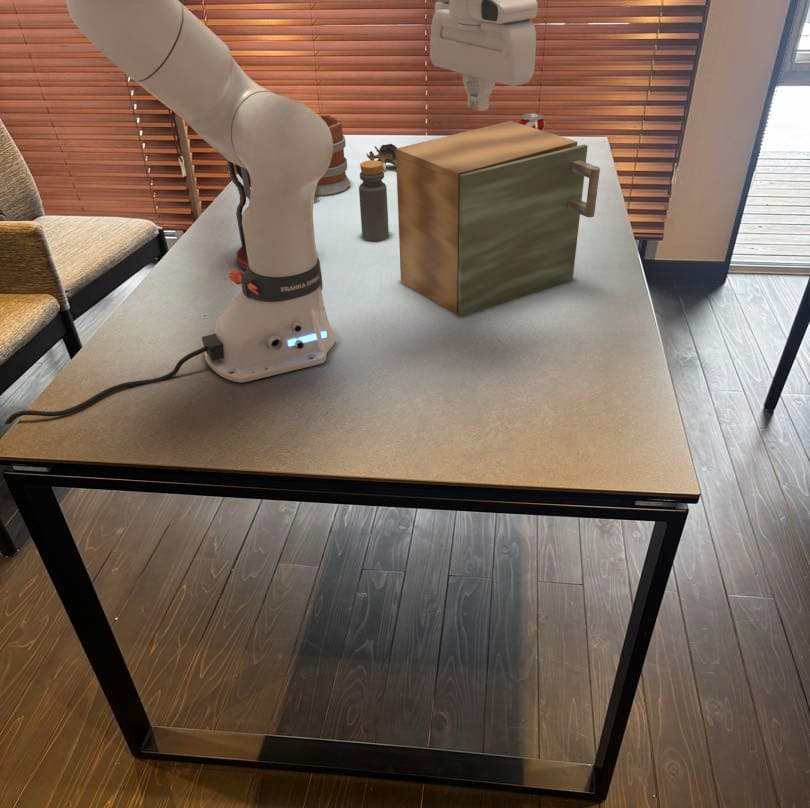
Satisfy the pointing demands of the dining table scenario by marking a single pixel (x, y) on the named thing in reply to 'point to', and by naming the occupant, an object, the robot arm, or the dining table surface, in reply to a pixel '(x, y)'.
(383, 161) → the eagle figurine
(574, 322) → the dining table surface
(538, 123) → the soda can
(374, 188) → the bottle
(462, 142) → the cupboard
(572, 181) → the door
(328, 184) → the mug
